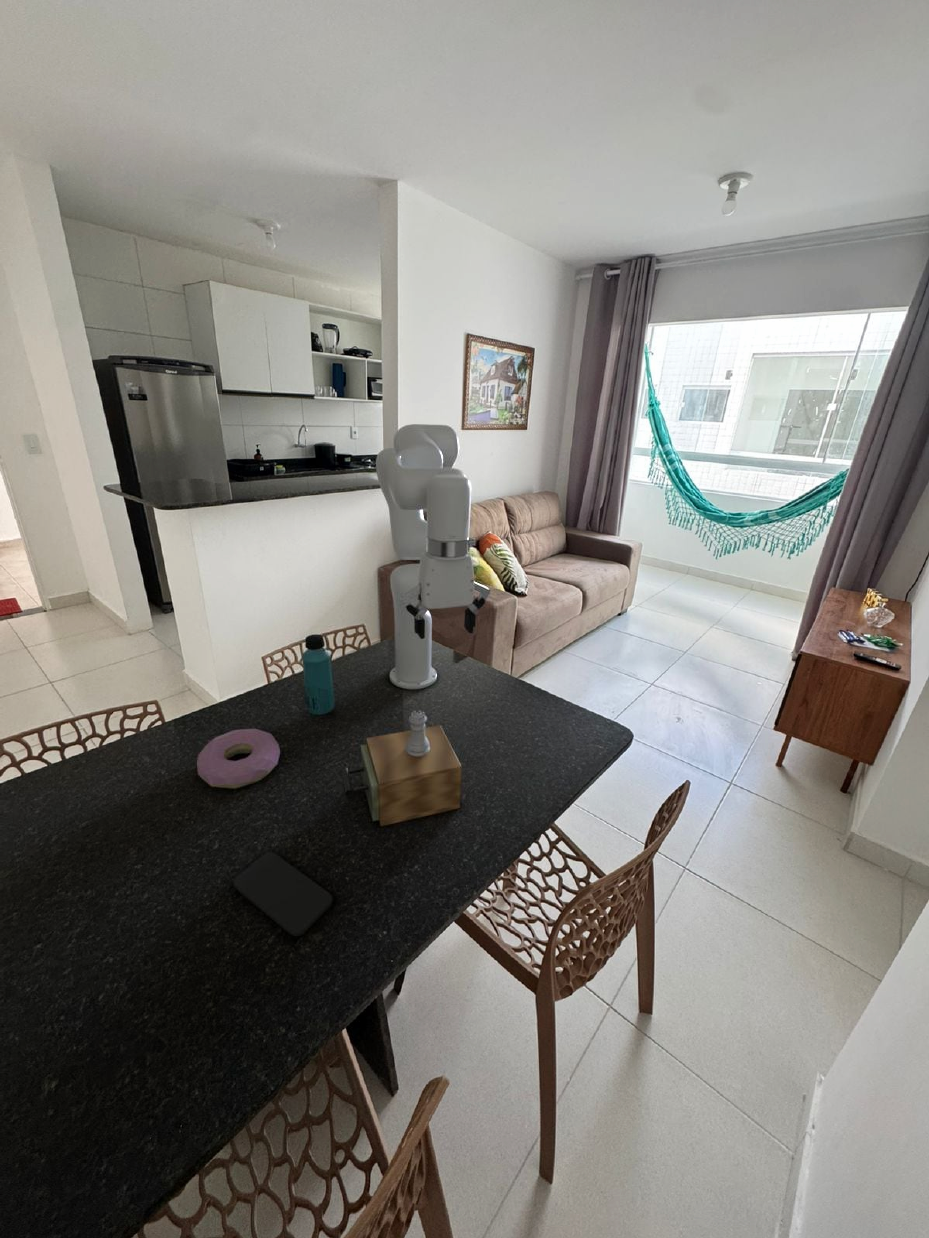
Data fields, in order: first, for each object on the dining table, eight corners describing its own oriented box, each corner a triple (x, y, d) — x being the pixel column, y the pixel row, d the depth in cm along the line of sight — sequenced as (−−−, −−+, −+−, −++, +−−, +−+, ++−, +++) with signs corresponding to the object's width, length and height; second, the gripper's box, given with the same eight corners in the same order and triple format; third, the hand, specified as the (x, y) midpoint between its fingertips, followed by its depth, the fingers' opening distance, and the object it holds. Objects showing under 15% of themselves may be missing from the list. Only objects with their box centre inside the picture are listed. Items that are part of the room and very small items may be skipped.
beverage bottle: (339, 706, 124) (333, 631, 116) (329, 722, 118) (323, 644, 110) (312, 703, 124) (305, 629, 116) (302, 719, 118) (294, 642, 110)
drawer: (348, 826, 89) (346, 791, 85) (340, 782, 98) (337, 749, 95) (446, 804, 94) (447, 770, 91) (429, 764, 104) (429, 732, 101)
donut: (237, 736, 112) (234, 717, 110) (296, 753, 107) (294, 734, 105) (179, 782, 98) (175, 761, 96) (244, 804, 94) (240, 782, 92)
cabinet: (380, 826, 90) (379, 782, 86) (367, 778, 101) (366, 738, 97) (459, 807, 95) (461, 766, 91) (439, 764, 106) (440, 725, 102)
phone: (296, 936, 71) (229, 881, 78) (296, 940, 71) (230, 885, 78) (335, 897, 76) (270, 849, 84) (336, 900, 77) (270, 852, 84)
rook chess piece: (401, 754, 93) (400, 717, 90) (412, 740, 97) (412, 704, 94) (423, 761, 92) (423, 724, 89) (433, 746, 96) (434, 710, 92)
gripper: (484, 538, 97) (479, 620, 104) (395, 543, 92) (396, 630, 99) (500, 549, 91) (494, 636, 98) (405, 555, 85) (405, 647, 92)
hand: (444, 633), depth 98 cm, fingers open, 9 cm apart
